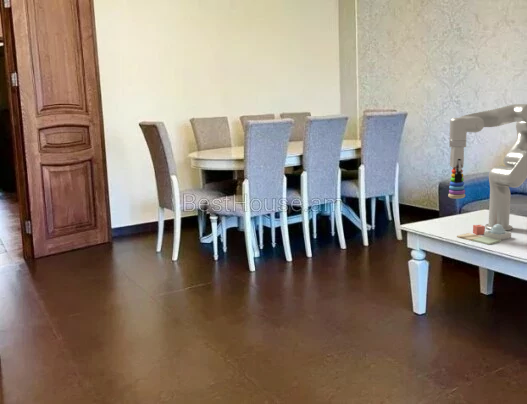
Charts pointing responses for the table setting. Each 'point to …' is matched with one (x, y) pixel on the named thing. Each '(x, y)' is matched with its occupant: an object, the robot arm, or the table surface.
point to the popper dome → (498, 229)
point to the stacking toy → (456, 187)
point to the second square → (486, 240)
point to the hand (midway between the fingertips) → (456, 180)
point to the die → (478, 229)
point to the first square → (469, 236)
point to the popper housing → (496, 236)
